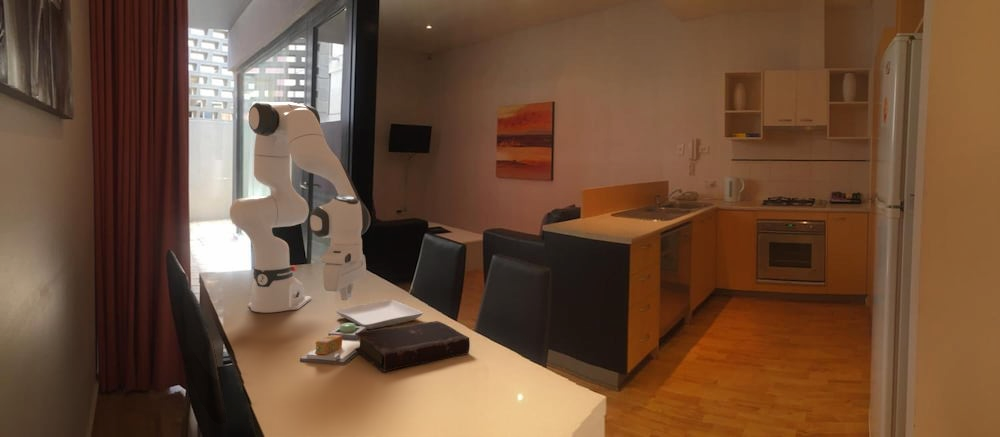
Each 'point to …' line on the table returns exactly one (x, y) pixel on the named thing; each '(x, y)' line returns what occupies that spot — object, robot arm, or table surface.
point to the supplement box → (328, 344)
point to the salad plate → (379, 314)
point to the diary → (411, 344)
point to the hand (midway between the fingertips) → (346, 299)
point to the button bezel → (348, 335)
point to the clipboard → (334, 354)
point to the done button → (347, 328)
